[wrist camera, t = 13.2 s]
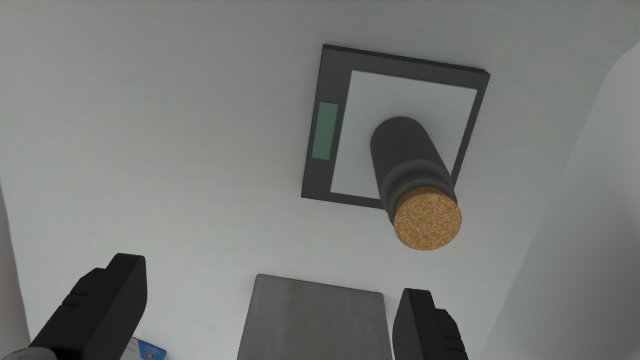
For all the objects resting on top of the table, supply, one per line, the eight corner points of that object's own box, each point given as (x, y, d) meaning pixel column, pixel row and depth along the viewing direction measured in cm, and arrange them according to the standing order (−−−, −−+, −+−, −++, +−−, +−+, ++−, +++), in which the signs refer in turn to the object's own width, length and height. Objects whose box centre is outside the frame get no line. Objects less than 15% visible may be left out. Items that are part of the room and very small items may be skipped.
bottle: (438, 153, 45) (483, 235, 31) (386, 179, 46) (408, 269, 33) (412, 104, 42) (449, 171, 29) (359, 134, 44) (370, 210, 30)
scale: (323, 43, 43) (322, 48, 40) (483, 69, 44) (493, 75, 41) (302, 188, 50) (300, 200, 47) (440, 208, 51) (445, 221, 48)
